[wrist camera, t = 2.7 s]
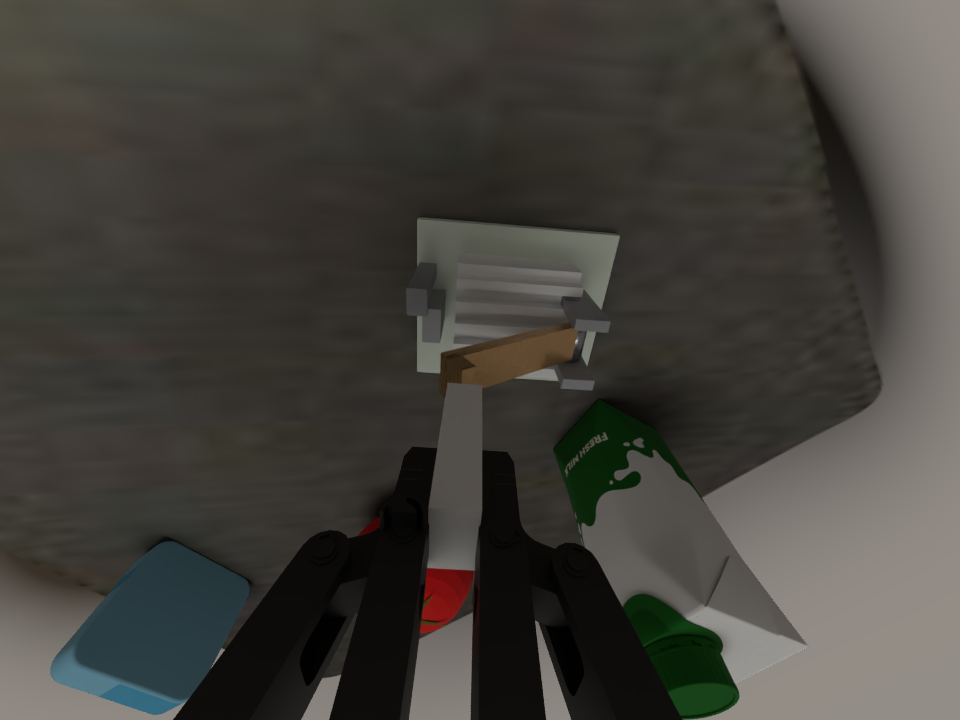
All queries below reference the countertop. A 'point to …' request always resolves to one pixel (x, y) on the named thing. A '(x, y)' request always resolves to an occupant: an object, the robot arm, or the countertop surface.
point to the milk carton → (670, 563)
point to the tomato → (439, 591)
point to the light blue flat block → (154, 631)
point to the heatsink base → (508, 288)
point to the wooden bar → (511, 356)
